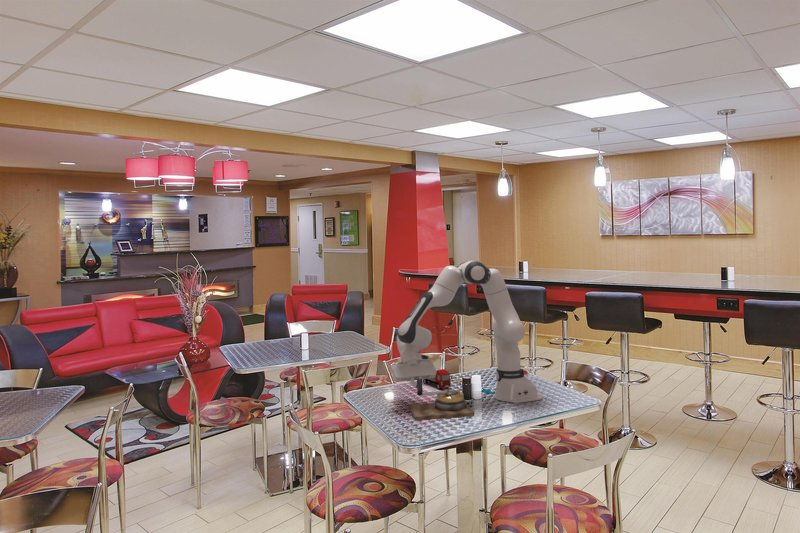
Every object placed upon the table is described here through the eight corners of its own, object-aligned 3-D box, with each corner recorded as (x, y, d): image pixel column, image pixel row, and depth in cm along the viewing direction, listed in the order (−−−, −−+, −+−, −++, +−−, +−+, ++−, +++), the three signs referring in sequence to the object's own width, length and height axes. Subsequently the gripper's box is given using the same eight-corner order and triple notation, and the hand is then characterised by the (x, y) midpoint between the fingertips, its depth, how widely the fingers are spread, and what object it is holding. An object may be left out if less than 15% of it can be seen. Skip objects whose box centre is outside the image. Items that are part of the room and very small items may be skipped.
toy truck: (441, 391, 270) (441, 372, 269) (420, 383, 287) (419, 365, 287) (452, 389, 273) (452, 370, 273) (430, 381, 291) (430, 363, 290)
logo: (450, 379, 291) (466, 376, 295) (450, 381, 291) (466, 378, 295) (485, 394, 260) (502, 390, 264) (485, 396, 260) (502, 393, 264)
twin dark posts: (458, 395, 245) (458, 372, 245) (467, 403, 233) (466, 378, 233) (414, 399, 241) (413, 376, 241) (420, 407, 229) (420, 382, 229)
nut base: (463, 404, 246) (463, 395, 246) (474, 415, 228) (474, 406, 228) (408, 407, 243) (408, 399, 243) (415, 420, 225) (414, 410, 225)
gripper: (390, 359, 241) (397, 385, 232) (432, 355, 247) (440, 381, 238) (388, 366, 245) (394, 393, 236) (429, 363, 251) (437, 388, 242)
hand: (418, 387), depth 237 cm, fingers closed, pressing on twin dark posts
